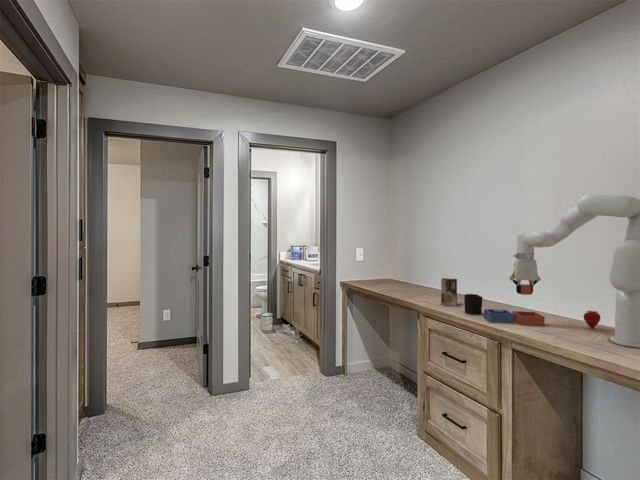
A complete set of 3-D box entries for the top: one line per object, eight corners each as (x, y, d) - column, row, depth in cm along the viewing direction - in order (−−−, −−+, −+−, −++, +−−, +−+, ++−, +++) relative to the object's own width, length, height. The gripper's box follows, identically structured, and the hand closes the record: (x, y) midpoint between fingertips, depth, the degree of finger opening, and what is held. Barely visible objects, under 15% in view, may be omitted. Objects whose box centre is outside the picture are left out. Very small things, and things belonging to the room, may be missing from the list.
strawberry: (579, 327, 178) (580, 306, 178) (591, 326, 180) (592, 305, 180) (591, 330, 172) (592, 309, 172) (604, 329, 174) (604, 308, 174)
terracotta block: (527, 293, 187) (527, 284, 186) (531, 294, 182) (531, 285, 182) (518, 293, 187) (518, 284, 187) (521, 294, 183) (521, 285, 183)
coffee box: (457, 304, 233) (457, 278, 233) (456, 306, 227) (456, 279, 227) (442, 303, 237) (442, 277, 237) (440, 304, 231) (441, 279, 231)
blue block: (501, 318, 194) (501, 309, 193) (504, 320, 189) (504, 311, 189) (492, 318, 194) (492, 309, 194) (495, 320, 190) (495, 311, 190)
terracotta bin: (535, 320, 191) (535, 311, 191) (544, 326, 180) (544, 316, 180) (512, 319, 193) (512, 311, 193) (519, 324, 182) (520, 315, 182)
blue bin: (506, 318, 196) (506, 309, 196) (513, 323, 185) (513, 314, 185) (484, 317, 198) (484, 308, 198) (489, 322, 187) (490, 313, 187)
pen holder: (483, 312, 209) (484, 295, 209) (480, 315, 201) (480, 297, 201) (466, 310, 215) (466, 293, 214) (462, 313, 207) (462, 295, 207)
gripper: (509, 257, 182) (509, 294, 182) (547, 257, 179) (546, 295, 180) (504, 256, 189) (503, 291, 190) (540, 256, 187) (539, 292, 187)
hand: (524, 293), depth 185 cm, fingers closed on terracotta block, 4 cm apart
